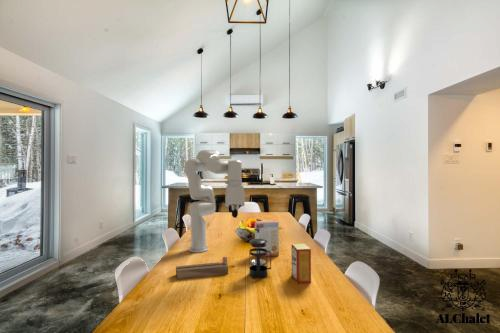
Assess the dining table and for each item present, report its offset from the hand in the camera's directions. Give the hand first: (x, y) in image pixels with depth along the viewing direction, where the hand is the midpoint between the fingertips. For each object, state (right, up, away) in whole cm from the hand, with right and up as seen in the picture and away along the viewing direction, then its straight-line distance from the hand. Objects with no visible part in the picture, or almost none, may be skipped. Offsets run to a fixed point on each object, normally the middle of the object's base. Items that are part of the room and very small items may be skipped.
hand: (234, 217), depth 141 cm
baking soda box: (+33, -27, -15) cm, 45 cm away
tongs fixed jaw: (-15, -27, -10) cm, 33 cm away
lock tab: (-8, -27, -2) cm, 28 cm away
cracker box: (+19, -27, +20) cm, 39 cm away
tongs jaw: (-18, -27, -8) cm, 33 cm away
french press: (+13, -27, -9) cm, 32 cm away
